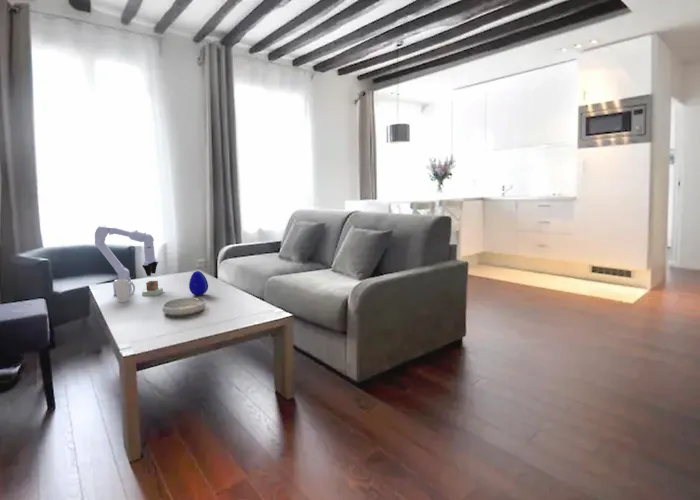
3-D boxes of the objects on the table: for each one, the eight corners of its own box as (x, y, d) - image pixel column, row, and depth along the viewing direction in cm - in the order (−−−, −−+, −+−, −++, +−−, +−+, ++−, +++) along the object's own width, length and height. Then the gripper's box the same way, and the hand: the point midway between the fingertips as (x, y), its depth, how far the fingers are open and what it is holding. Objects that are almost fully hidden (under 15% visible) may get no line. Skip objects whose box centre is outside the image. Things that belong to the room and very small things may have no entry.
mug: (116, 303, 243) (114, 282, 241) (116, 300, 249) (114, 280, 247) (136, 300, 248) (134, 280, 246) (135, 298, 254) (134, 278, 252)
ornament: (211, 294, 261) (209, 270, 259) (200, 297, 253) (198, 273, 250) (197, 292, 266) (195, 268, 263) (186, 296, 257) (184, 271, 255)
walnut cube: (146, 290, 260) (146, 282, 260) (150, 288, 265) (149, 281, 265) (155, 290, 261) (154, 282, 260) (158, 288, 266) (157, 280, 265)
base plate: (142, 295, 259) (142, 291, 258) (148, 292, 268) (147, 288, 267) (157, 295, 259) (157, 291, 259) (163, 291, 268) (162, 287, 268)
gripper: (151, 255, 261) (153, 276, 263) (160, 251, 275) (161, 272, 277) (139, 255, 261) (141, 277, 263) (148, 251, 275) (150, 272, 277)
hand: (151, 274), depth 270 cm, fingers open, 7 cm apart
